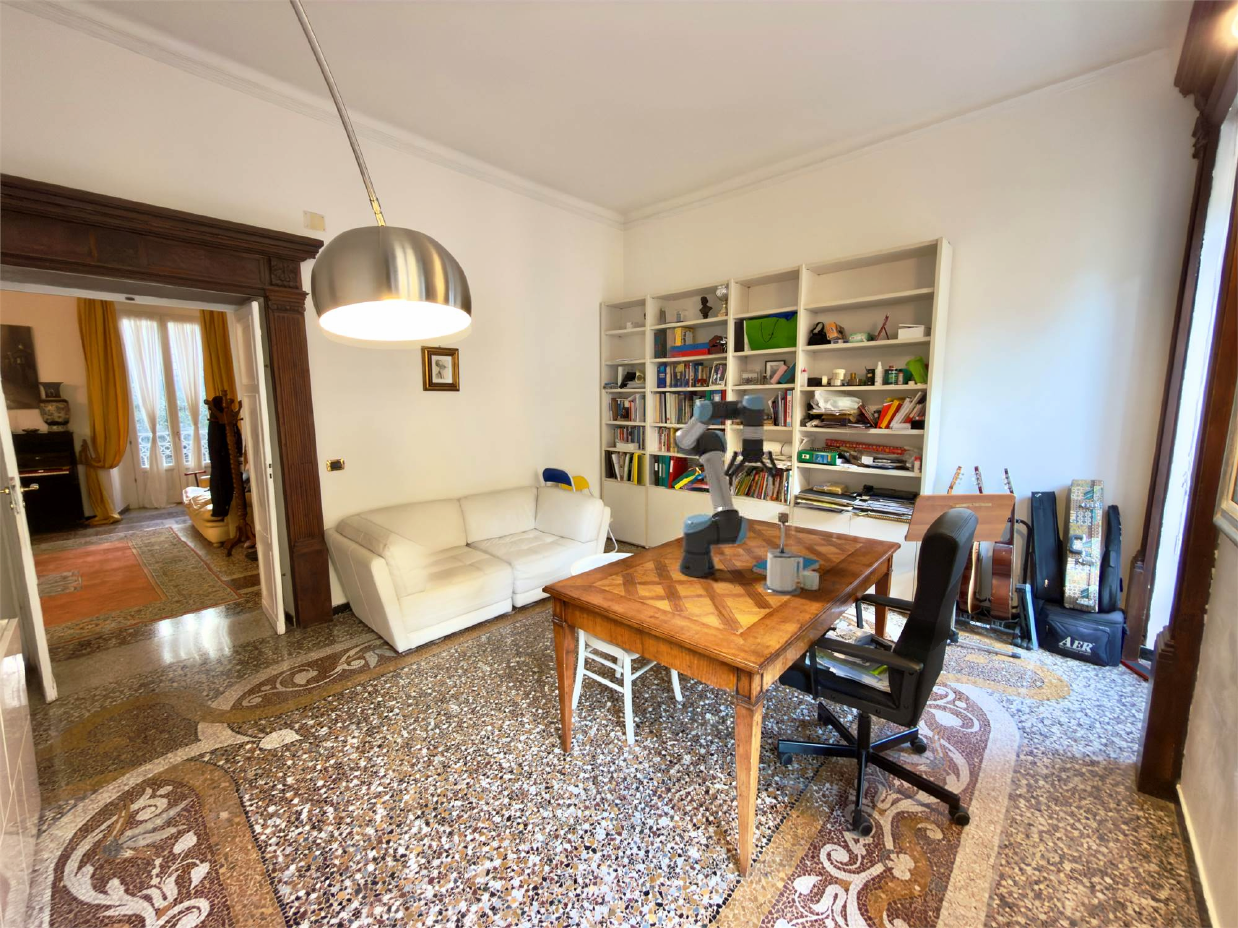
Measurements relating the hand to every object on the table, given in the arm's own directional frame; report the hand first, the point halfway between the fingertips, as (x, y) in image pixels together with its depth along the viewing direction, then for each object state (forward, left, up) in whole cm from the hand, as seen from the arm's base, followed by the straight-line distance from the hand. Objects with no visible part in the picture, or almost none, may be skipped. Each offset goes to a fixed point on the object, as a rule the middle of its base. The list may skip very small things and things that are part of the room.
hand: (751, 494), depth 179 cm
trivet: (+2, +11, -36) cm, 38 cm away
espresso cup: (+1, +22, -36) cm, 43 cm away
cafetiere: (+2, +12, -35) cm, 38 cm away
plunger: (+2, +11, -22) cm, 25 cm away
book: (-18, +19, -37) cm, 45 cm away
